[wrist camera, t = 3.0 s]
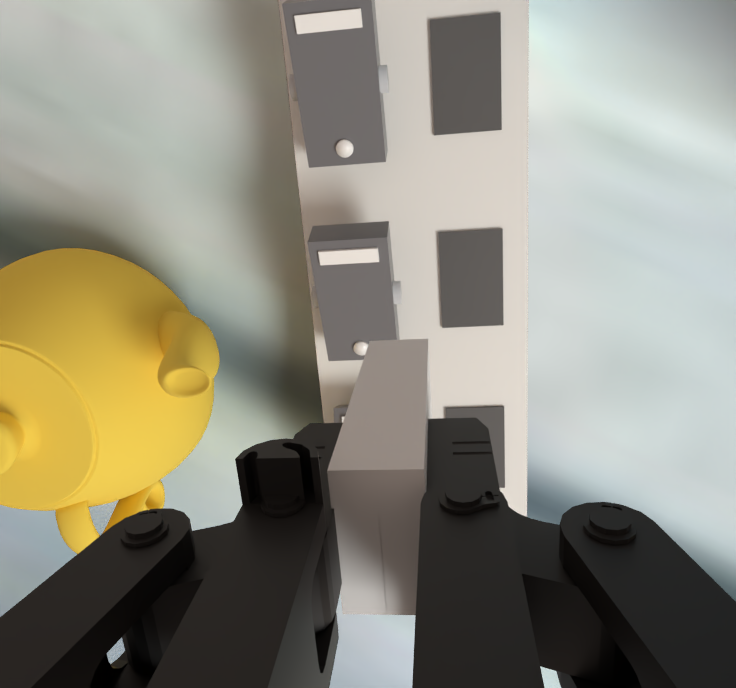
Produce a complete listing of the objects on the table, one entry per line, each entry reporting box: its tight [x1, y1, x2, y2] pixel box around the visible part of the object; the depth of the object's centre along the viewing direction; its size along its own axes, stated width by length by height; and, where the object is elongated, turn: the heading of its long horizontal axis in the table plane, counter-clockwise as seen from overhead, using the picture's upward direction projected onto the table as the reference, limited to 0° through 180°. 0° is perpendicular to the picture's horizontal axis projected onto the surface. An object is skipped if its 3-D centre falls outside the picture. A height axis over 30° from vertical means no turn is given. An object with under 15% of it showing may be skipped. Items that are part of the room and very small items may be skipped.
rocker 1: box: [282, 0, 389, 168], centre depth 24 cm, size 4×6×2 cm, turn 4°
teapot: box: [0, 248, 219, 554], centre depth 29 cm, size 20×15×12 cm
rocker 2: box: [307, 221, 402, 361], centre depth 26 cm, size 4×6×2 cm, turn 4°
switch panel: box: [278, 0, 529, 517], centre depth 29 cm, size 10×26×4 cm, turn 4°
